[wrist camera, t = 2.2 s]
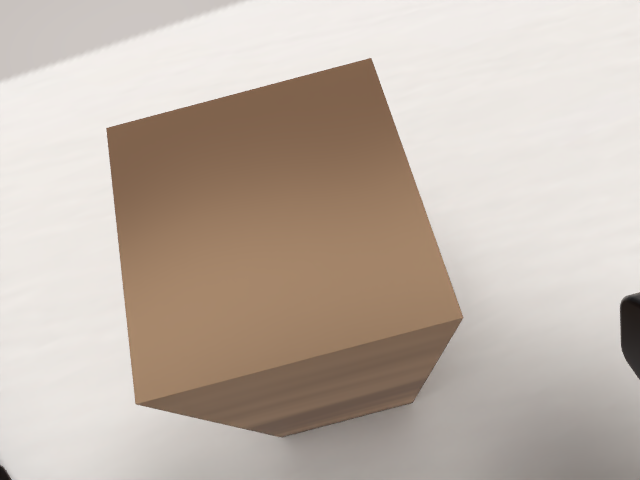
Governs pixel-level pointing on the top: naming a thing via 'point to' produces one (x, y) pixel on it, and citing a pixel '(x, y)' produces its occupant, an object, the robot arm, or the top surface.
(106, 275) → the top surface
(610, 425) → the top surface
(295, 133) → the brown wooden block
